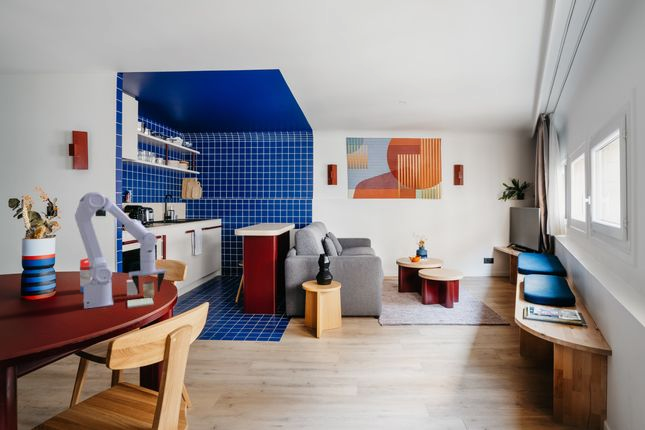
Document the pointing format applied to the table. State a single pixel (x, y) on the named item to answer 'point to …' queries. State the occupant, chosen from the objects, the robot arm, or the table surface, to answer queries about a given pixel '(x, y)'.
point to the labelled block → (148, 289)
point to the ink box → (84, 273)
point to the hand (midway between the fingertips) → (148, 292)
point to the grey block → (131, 288)
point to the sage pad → (140, 302)
